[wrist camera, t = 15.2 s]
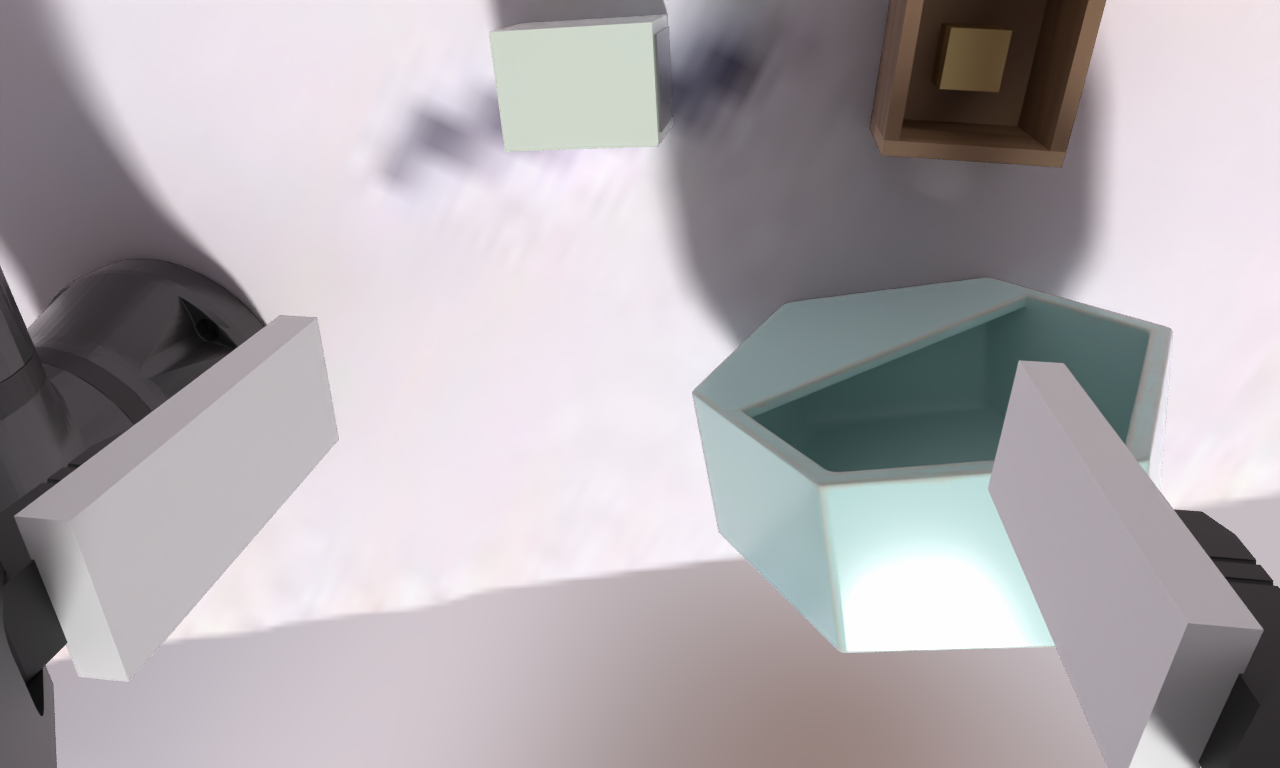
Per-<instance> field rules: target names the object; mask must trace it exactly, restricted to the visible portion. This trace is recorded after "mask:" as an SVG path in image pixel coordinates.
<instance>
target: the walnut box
mask: <svg viewBox="0 0 1280 768" xmlns="http://www.w3.org/2000/svg"><path fill="white" fill-rule="evenodd" d="M1105 3H1106V0H890V2H889V8H888V15H887V21H886V27H885V34H884V40H883V46H882V53H881V59H880V66H879V72H878V78H877V85H876V91H875V97H874V104H873V110H872V116H871V123H870V130H871V132H872V135H873V137H874V139H875V141H876V144H877V146H878V148H879V150H880V153H881V155H885V156H900V157H914V158H929V159H944V160H959V161H973V162H988V163H1003V164H1017V165H1032V166H1047V167H1061V168H1062V165H1063V161H1064V157H1065V154H1066V150H1067V146H1068V142H1069V139H1070V135H1071V131H1072V127H1073V123H1074V120H1075V116H1076V112H1077V108H1078V105H1079V101H1080V97H1081V93H1082V90H1083V86H1084V82H1085V78H1086V75H1087V71H1088V67H1089V63H1090V60H1091V56H1092V52H1093V48H1094V45H1095V41H1096V37H1097V33H1098V29H1099V26H1100V22H1101V18H1102V14H1103V11H1104V7H1105Z"/></svg>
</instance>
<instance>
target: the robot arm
mask: <svg viewBox="0 0 1280 768" xmlns="http://www.w3.org/2000/svg"><path fill="white" fill-rule="evenodd" d="M338 440H339V437H338V431H337V425H336V420H335V414H334V409H333V403H332V397H331V392H330V386H329V381H328V375H327V369H326V364H325V358H324V353H323V347H322V341H321V336H320V330H319V324H318V319H317V317H300V316H284V315H280V316H278V317H277V318H276V319H274V320H273V321H272V322H270V323H269V324H268V325H266V326H265V327H263V325H262V324H261V323H260V321H259V320H258V319H257V318H256V317H255V316H254V315H253V314H252V312H251V311H250V310H249V309H248V308H247V307H246V306H245V305H243V304H242V303H241V302H240V301H239V300H238V299H237V298H235V297H234V296H233V295H232V294H231V293H229V292H228V291H227V290H225V289H224V288H222V287H221V286H219V285H218V284H216V283H215V282H213V281H211V280H210V279H208V278H206V277H204V276H202V275H200V274H198V273H196V272H194V271H192V270H189V269H187V268H184V267H181V266H178V265H175V264H171V263H167V262H162V261H157V260H147V259H132V260H124V261H119V262H115V263H112V264H109V265H106V266H104V267H102V268H100V269H97V270H95V271H93V272H91V273H89V274H87V275H84V276H82V277H80V278H78V279H76V280H75V281H73V282H72V283H70V284H69V285H67V286H66V287H64V288H63V289H62V290H61V291H60V292H59V293H58V294H57V295H56V296H55V297H54V298H53V300H52V301H51V302H50V304H49V305H48V307H47V308H46V310H45V311H44V312H43V313H42V314H41V315H40V316H39V317H38V318H37V319H36V320H35V321H34V323H33V324H32V325H31V326H30V327H29V328H28V329H27V328H26V325H25V323H24V321H23V319H22V316H21V314H20V312H19V309H18V307H17V305H16V302H15V300H14V298H13V295H12V293H11V290H10V288H9V286H8V283H7V281H6V279H5V276H4V274H3V271H2V269H1V267H0V768H57V762H56V737H55V716H54V715H55V713H54V689H53V682H52V680H51V678H50V675H49V673H48V670H47V668H46V666H45V665H46V664H47V663H48V662H49V661H50V660H51V659H52V658H53V657H54V656H55V655H56V654H57V653H58V652H59V651H60V650H61V649H62V648H63V647H64V646H65V645H66V647H67V649H68V652H69V654H70V656H71V659H72V661H73V663H74V666H75V669H76V671H77V674H78V676H79V677H88V678H97V679H107V680H115V681H124V682H130V681H131V679H132V678H133V677H134V676H135V675H136V674H137V672H138V671H139V670H140V669H141V668H142V667H143V665H144V664H145V663H146V662H147V661H148V660H149V659H150V657H151V656H152V655H153V654H154V653H155V652H156V650H157V649H158V648H159V647H160V646H161V645H162V644H163V642H164V641H165V640H166V639H167V638H168V637H169V635H170V634H171V633H172V632H173V631H174V630H175V628H176V627H177V626H178V625H179V624H180V623H181V622H182V620H183V619H184V618H185V617H186V616H187V615H188V613H189V612H190V611H191V610H192V609H193V608H194V606H195V605H196V604H197V603H198V602H199V601H200V600H201V598H202V597H203V596H204V595H205V594H206V593H207V591H208V590H209V589H210V588H211V587H212V586H213V585H214V583H215V582H216V581H217V580H218V579H219V578H220V576H221V575H222V574H223V573H224V572H225V571H226V569H227V568H228V567H229V566H230V565H231V564H232V563H233V561H234V560H235V559H236V558H237V557H238V556H239V554H240V553H241V552H242V551H243V550H244V549H245V547H246V546H247V545H248V544H249V543H250V542H251V541H252V539H253V538H254V537H255V536H256V535H257V534H258V532H259V531H260V530H261V529H262V528H263V527H264V525H265V524H266V523H267V522H268V521H269V520H270V519H271V517H272V516H273V515H274V514H275V513H276V512H277V510H278V509H279V508H280V507H281V506H282V505H283V504H284V502H285V501H286V500H287V499H288V498H289V497H290V495H291V494H292V493H293V492H294V491H295V490H296V488H297V487H298V486H299V485H300V484H301V483H302V482H303V480H304V479H305V478H306V477H307V476H308V475H309V473H310V472H311V471H312V470H313V469H314V468H315V466H316V465H317V464H318V463H319V462H320V461H321V460H322V458H323V457H324V456H325V455H326V454H327V453H328V451H329V450H330V449H331V448H332V447H333V446H334V444H335V443H336V442H337V441H338ZM988 491H989V493H990V495H991V498H992V500H993V502H994V505H995V507H996V509H997V512H998V514H999V516H1000V519H1001V521H1002V523H1003V526H1004V528H1005V530H1006V533H1007V535H1008V537H1009V540H1010V542H1011V544H1012V547H1013V549H1014V551H1015V554H1016V556H1017V558H1018V561H1019V563H1020V565H1021V567H1022V570H1023V572H1024V574H1025V577H1026V579H1027V581H1028V584H1029V586H1030V588H1031V591H1032V593H1033V595H1034V598H1035V600H1036V602H1037V605H1038V607H1039V609H1040V612H1041V614H1042V616H1043V619H1044V621H1045V623H1046V626H1047V628H1048V630H1049V633H1050V635H1051V637H1052V640H1053V642H1054V644H1055V647H1056V649H1057V651H1058V653H1059V656H1060V658H1061V660H1062V663H1063V665H1064V667H1065V670H1066V672H1067V674H1068V677H1069V679H1070V681H1071V684H1072V686H1073V688H1074V691H1075V693H1076V695H1077V697H1078V700H1079V702H1080V705H1081V707H1082V709H1083V711H1084V714H1085V716H1086V719H1087V721H1088V723H1089V726H1090V728H1091V730H1092V733H1093V735H1094V737H1095V739H1096V742H1097V744H1098V746H1099V749H1100V751H1101V753H1102V756H1103V758H1104V760H1105V763H1106V765H1107V767H1108V768H1200V766H1201V767H1202V768H1280V588H1279V587H1278V586H1273V580H1272V579H1271V578H1270V576H1269V575H1268V574H1267V573H1266V571H1265V570H1264V569H1263V568H1262V567H1261V565H1256V559H1255V558H1254V557H1253V556H1252V554H1251V553H1250V552H1249V551H1248V550H1247V548H1246V547H1245V546H1244V545H1243V543H1242V542H1241V541H1240V540H1239V539H1238V537H1237V536H1236V535H1235V534H1234V533H1232V532H1231V531H1229V530H1228V529H1226V528H1225V527H1223V526H1222V525H1221V524H1219V523H1218V522H1216V521H1215V520H1213V519H1212V518H1210V517H1209V516H1208V515H1206V514H1205V513H1203V512H1199V511H1186V510H1174V509H1173V508H1172V507H1171V505H1170V504H1169V503H1168V501H1167V500H1166V499H1165V497H1164V496H1163V495H1162V493H1161V492H1160V491H1159V489H1158V488H1157V487H1156V485H1155V484H1154V483H1153V481H1152V480H1151V479H1150V477H1149V476H1148V475H1147V473H1146V472H1145V471H1144V469H1143V468H1142V467H1141V465H1140V464H1139V463H1138V461H1137V460H1136V459H1135V457H1134V456H1133V455H1132V453H1131V452H1130V451H1129V449H1128V448H1127V447H1126V445H1125V444H1124V443H1123V441H1122V440H1121V439H1120V437H1119V436H1118V435H1117V433H1116V432H1115V431H1114V429H1113V428H1112V427H1111V425H1110V424H1109V423H1108V421H1107V420H1106V419H1105V417H1104V416H1103V415H1102V413H1101V412H1100V411H1099V409H1098V408H1097V407H1096V405H1095V404H1094V403H1093V401H1092V400H1091V399H1090V397H1089V396H1088V395H1087V393H1086V392H1085V391H1084V389H1083V388H1082V387H1081V385H1080V384H1079V383H1078V381H1077V380H1076V379H1075V377H1074V376H1073V375H1072V373H1071V372H1070V371H1069V369H1068V368H1067V367H1066V365H1065V364H1064V363H1053V362H1037V361H1021V360H1019V362H1018V366H1017V370H1016V375H1015V379H1014V383H1013V387H1012V391H1011V395H1010V399H1009V404H1008V408H1007V412H1006V416H1005V420H1004V424H1003V428H1002V433H1001V437H1000V441H999V445H998V449H997V453H996V457H995V462H994V466H993V470H992V474H991V478H990V482H989V486H988Z"/></svg>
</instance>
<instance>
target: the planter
mask: <svg viewBox="0 0 1280 768" xmlns="http://www.w3.org/2000/svg"><path fill="white" fill-rule="evenodd" d="M1172 338H1173V331H1172V329H1171V328H1169V327H1166V326H1162V325H1159V324H1155V323H1152V322H1148V321H1144V320H1141V319H1137V318H1134V317H1130V316H1127V315H1123V314H1119V313H1116V312H1112V311H1109V310H1105V309H1101V308H1098V307H1094V306H1091V305H1087V304H1084V303H1080V302H1076V301H1073V300H1069V299H1066V298H1062V297H1058V296H1055V295H1051V294H1048V293H1044V292H1041V291H1037V290H1033V289H1030V288H1026V287H1023V286H1019V285H1015V284H1012V283H1008V282H1005V281H1001V280H997V279H994V278H989V277H985V278H976V279H968V280H960V281H953V282H945V283H937V284H929V285H921V286H913V287H905V288H897V289H889V290H881V291H873V292H865V293H857V294H849V295H841V296H833V297H825V298H817V299H809V300H802V301H794V302H789V303H786V304H784V305H782V306H781V307H780V308H779V309H778V310H777V311H776V312H774V313H773V314H772V315H771V316H770V317H769V318H768V319H767V320H766V321H765V322H764V323H763V324H762V325H761V326H760V327H759V328H758V329H757V330H756V331H755V332H753V333H752V334H751V335H750V336H749V337H748V338H747V339H746V340H745V341H744V342H743V343H742V344H741V345H740V346H739V347H738V348H737V349H736V350H735V351H734V352H733V353H732V354H730V355H729V356H728V357H727V358H726V359H725V360H724V361H723V362H722V363H721V364H720V365H719V366H718V367H717V368H716V369H715V370H714V371H713V372H712V373H711V374H710V375H709V376H708V377H706V378H705V379H704V380H703V381H702V382H701V383H700V384H699V385H698V386H697V387H696V388H695V389H694V390H693V392H692V396H693V401H694V406H695V411H696V416H697V422H698V427H699V432H700V437H701V442H702V448H703V453H704V458H705V463H706V468H707V474H708V479H709V484H710V489H711V495H712V500H713V505H714V510H715V515H716V521H717V526H718V531H719V533H720V534H721V535H722V536H723V537H724V538H725V539H726V540H727V541H728V542H729V543H730V544H731V545H732V546H733V547H734V548H735V549H736V550H737V551H738V552H739V553H740V554H741V555H742V556H743V557H744V558H745V559H746V560H747V561H748V562H749V563H750V564H751V565H752V566H753V567H754V568H755V569H756V570H758V572H759V573H760V574H761V575H762V576H764V578H765V579H766V580H767V581H768V582H769V583H770V584H771V585H772V586H773V587H774V588H775V589H776V590H778V591H779V592H780V593H781V594H782V595H783V596H784V597H785V598H786V599H787V600H788V601H789V602H790V603H791V604H792V605H793V606H794V607H795V608H796V609H797V610H798V611H799V612H800V613H801V614H802V615H803V616H804V617H805V618H806V619H807V620H808V621H809V622H810V623H811V624H812V625H813V626H814V627H815V628H816V629H817V630H818V631H819V632H820V633H821V634H822V635H823V636H824V637H825V638H826V639H827V640H828V641H829V642H830V643H831V644H832V645H833V646H834V647H835V648H836V649H838V650H839V651H840V652H844V653H861V652H893V651H928V650H961V649H994V648H995V649H996V648H1026V647H1027V648H1028V647H1055V644H1054V642H1053V640H1052V637H1051V635H1050V633H1049V630H1048V628H1047V626H1046V623H1045V621H1044V619H1043V616H1042V614H1041V612H1040V609H1039V607H1038V605H1037V602H1036V600H1035V598H1034V595H1033V593H1032V591H1031V588H1030V586H1029V584H1028V581H1027V579H1026V577H1025V574H1024V572H1023V570H1022V567H1021V565H1020V563H1019V561H1018V558H1017V556H1016V554H1015V551H1014V549H1013V547H1012V544H1011V542H1010V540H1009V537H1008V535H1007V533H1006V530H1005V528H1004V526H1003V523H1002V521H1001V519H1000V516H999V514H998V512H997V509H996V507H995V505H994V502H993V500H992V498H991V495H990V493H989V491H988V486H989V482H990V478H991V474H992V470H993V466H994V462H995V457H996V453H997V449H998V445H999V441H1000V437H1001V433H1002V428H1003V424H1004V420H1005V416H1006V412H1007V408H1008V404H1009V399H1010V395H1011V391H1012V387H1013V383H1014V379H1015V375H1016V370H1017V366H1018V362H1019V360H1021V361H1037V362H1053V363H1064V364H1065V365H1066V367H1067V368H1068V369H1069V371H1070V372H1071V373H1072V375H1073V376H1074V377H1075V379H1076V380H1077V381H1078V383H1079V384H1080V385H1081V387H1082V388H1083V389H1084V391H1085V392H1086V393H1087V395H1088V396H1089V397H1090V399H1091V400H1092V401H1093V403H1094V404H1095V405H1096V407H1097V408H1098V409H1099V411H1100V412H1101V413H1102V415H1103V416H1104V417H1105V419H1106V420H1107V421H1108V423H1109V424H1110V425H1111V427H1112V428H1113V429H1114V431H1115V432H1116V433H1117V435H1118V436H1119V437H1120V439H1121V440H1122V441H1123V443H1124V444H1125V445H1126V447H1127V448H1128V449H1129V451H1130V452H1131V453H1132V455H1133V456H1134V457H1135V459H1136V460H1137V461H1138V463H1139V464H1140V465H1141V467H1142V468H1143V469H1144V471H1145V472H1146V473H1147V475H1148V476H1149V477H1150V479H1151V480H1152V481H1153V483H1154V484H1155V485H1156V487H1157V488H1158V489H1159V491H1160V488H1161V476H1162V464H1163V451H1164V439H1165V426H1166V413H1167V401H1168V388H1169V376H1170V363H1171V351H1172Z"/></svg>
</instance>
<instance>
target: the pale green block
mask: <svg viewBox="0 0 1280 768" xmlns="http://www.w3.org/2000/svg"><path fill="white" fill-rule="evenodd" d="M489 36H490V44H491V51H492V58H493V66H494V73H495V81H496V88H497V95H498V103H499V110H500V118H501V125H502V132H503V140H504V147H505V152H509V151H538V150H567V149H597V148H626V147H655V146H659V145H660V143H661V142H662V140H663V139H664V138H665V136H666V135H667V133H668V132H669V130H670V129H671V127H672V117H673V104H672V82H671V60H670V38H669V26H668V17H667V14H662V15H646V16H630V17H613V18H597V19H581V20H565V21H548V22H532V23H520V24H517V25H513V26H509V27H506V28H502V29H498V30H495V31H491V32H489Z"/></svg>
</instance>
